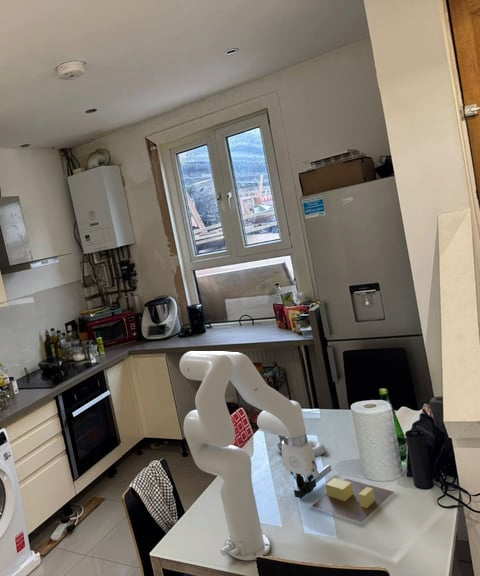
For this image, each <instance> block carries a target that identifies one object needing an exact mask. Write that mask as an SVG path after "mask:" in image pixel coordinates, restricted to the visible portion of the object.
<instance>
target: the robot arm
mask: <svg viewBox="0 0 480 576" xmlns="http://www.w3.org/2000/svg"><path fill="white" fill-rule="evenodd" d="M178 367H179V371H180V373H181V374H182V376H183V377H184V378H186V379H187V380H193V381H200V382H201V383H200V385H199V387H198V390H197V391H196V394H195V398H194V404H195V408H196V409H193V410H191V411H189V412H188V413H187V414H186V416H185V417H184V420H183V433H184V437H185V440H186V442H187V445H188V448H189V452H190V454H191V456H192V459H193V461H194V464H195V465H196V467H197V468H198V469H199V470H201V471H202V472H205V473H208V474H210V475H213V476H217V477H219V478H222V480H223V483H222V485H221V488H220V498H221V503H222V507H223V511H224V516H225V520H226V527H227V530H228V531H227V532H228V535H229V536H227V539H226V540H227V541H226V545H224V546H223V547H222V548H221V549H219V552H220V555H222V556H223V557H225V556H227V555H228V554H229V555H230V556H231V557H233V558H235V559H237V560H241V561H254V560H257V559H256V556H257V555H265V556H266V555H267V554H268V553H269V552H270V549H271V542H270V540H269V538H268V537H267V536H266V535H265V534H263V530H262V526H261V521H260V516H259V511H258V507H257V506H258V505H257V501H256V496H255V492H254V485H253V480H252V477H253V476H252V459H251V456H250V455H249V453H248V452H247V451H246V450H245V449H244V448H241V447H240V446H236V445H233V443H234V442H236V441H235V440H236V428H235V426H234V422H233V419H232V417H231V414H230V411H229V408H228V406H227V402H226V397H225V395H226V390H227V387H228V384H229V382H230V383H231V384H232V386H234V388H235V389H236V391H237V392H238V393H239V396H241V398H242V399H243V401H244V402H246V403H247V404H249V405H251V406H252V407H255V408H257V409H259V410H262V411H261V412H259V414H258V415H257V419H256V425H257V427H258V428H259V430H261V431H262V432H264V433H266V434H271V435H276V436H279V435H280V436H282V437H283V441H282V458H281V459H282V465H283V468H284V469H285V470H286V471H288V472H289V473H290V474H291V475H292V476H293V479H294V480H295V482H296V487H297V486H299V485H300V484H301V483H302V482H304V481H305V482H304V486H305V490H306V493H307V494H310V493H311V492H313V490H314V488H313V485H312V479H313V478H318V477H319V476H320V474H319V472H320V471H318V464H317V459H316V457H315V456H314V453H313V450H312V447H311V445H310V443H309V442H308V441H309V440H308V435H307V430H306V425H305V420H304V415H303V411H302V406H301V404H300V403H299V402H298V401H296V400H291V399H289V398H288V397H286V396H284V395H283V394H282V393H281V392H279V391H277V390H276V389H275V388H273V387H271V386H270V385H269V384H268V383H267V382H266V381H265V379H264V378H263V377H262V375H261V374H260V372H259V370H258V369H257V368H256V366H255V365H254V363H253V362H252V360H251V358H249V357H248V356H247V354H244V353H241V352H236V351H235V352H234V351H233V352H232V351H195V350H191V351H187V352H185V353H184V354H183V355H182V356H181V358H180V360H179V366H178ZM307 494H306V495H307Z"/></svg>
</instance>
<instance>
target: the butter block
mask: <svg viewBox="0 0 480 576" xmlns="http://www.w3.org/2000/svg"><path fill="white" fill-rule="evenodd" d="M325 488H326V494H328V496H330V497H333V498H337V499H340V500H343V501H346V500H347V499H348V498H350V497H351V496H352V495H353V489H352V483H351V482H347V481H344V479H341V478H336V477H333V478H332V479H330V481H328V482H327V483H325Z"/></svg>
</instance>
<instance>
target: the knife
mask: <svg viewBox="0 0 480 576" xmlns="http://www.w3.org/2000/svg"><path fill="white" fill-rule="evenodd" d="M332 470H333V469H332V466H331V464H330V463H329V464H327V466H325V467H324V468H323V469H321V470H320V471H318V472H319V474H320V476H319V477H318V478H313V479H312V485H313V489H314V488H316V487H317V483H319V482H320V481H321V480H322V479H323V478H325V477H326V476H327V475H328V474H329V473H330V472H332ZM304 482H305V480H304ZM304 482H302V483H301V484H300V485H299V486H297V485H296V487H295V488H294V489H293V493H294V497H295V498H298V499H303V498H304V497H305V496H306V495H307V493H306V490H305V486H304Z"/></svg>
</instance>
